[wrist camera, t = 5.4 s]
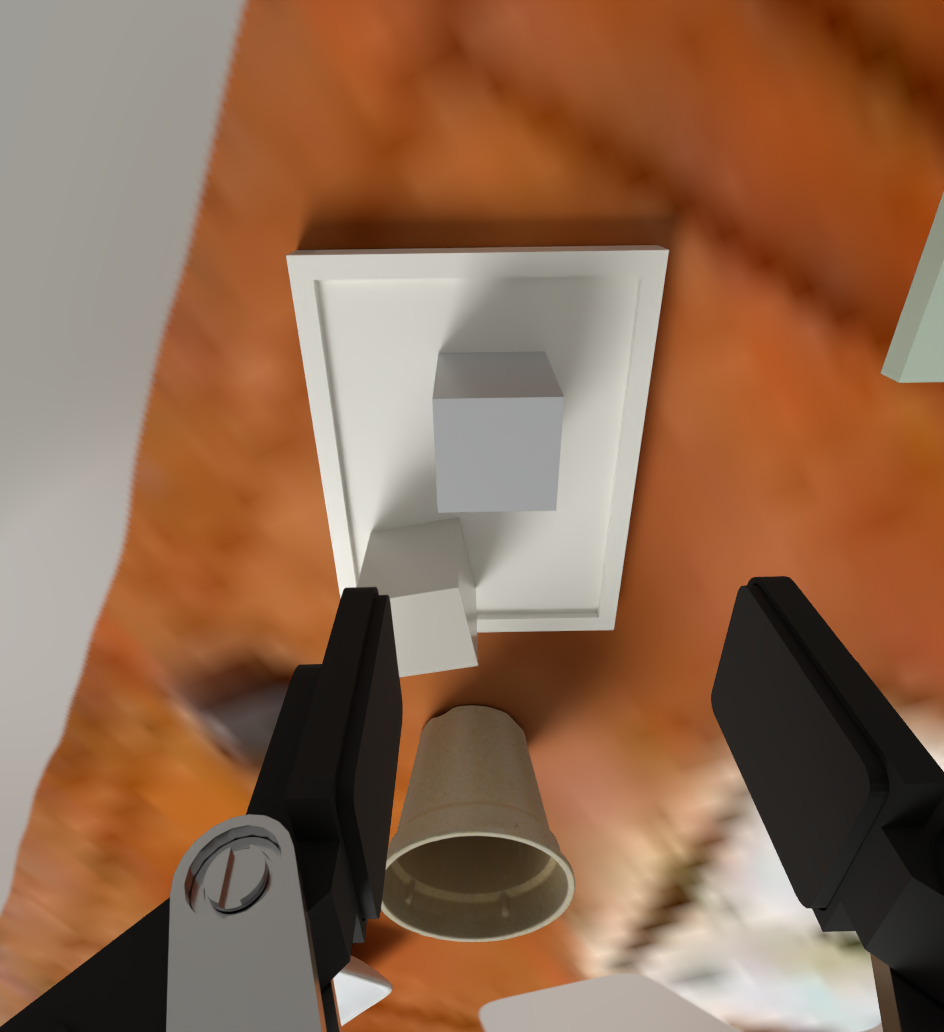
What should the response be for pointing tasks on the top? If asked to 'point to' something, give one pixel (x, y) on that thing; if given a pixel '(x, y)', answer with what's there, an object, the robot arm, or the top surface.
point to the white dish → (409, 409)
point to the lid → (922, 317)
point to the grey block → (496, 432)
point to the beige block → (426, 594)
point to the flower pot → (474, 836)
